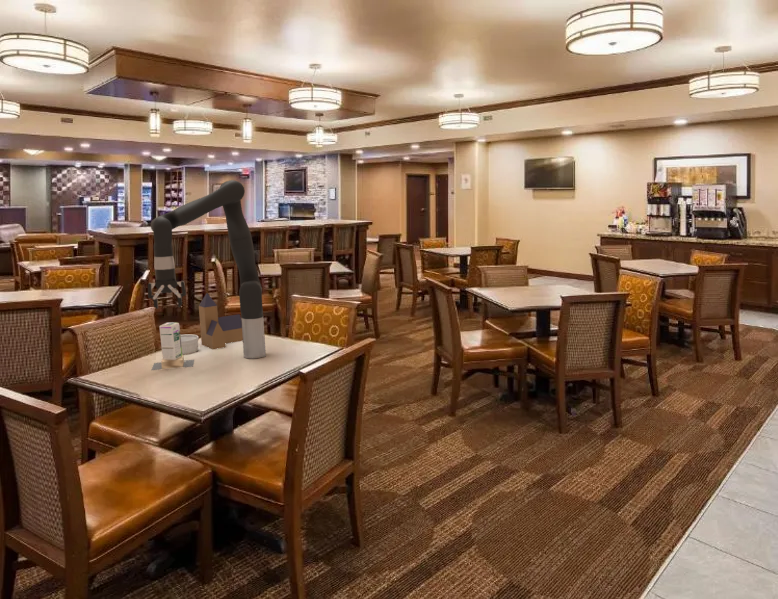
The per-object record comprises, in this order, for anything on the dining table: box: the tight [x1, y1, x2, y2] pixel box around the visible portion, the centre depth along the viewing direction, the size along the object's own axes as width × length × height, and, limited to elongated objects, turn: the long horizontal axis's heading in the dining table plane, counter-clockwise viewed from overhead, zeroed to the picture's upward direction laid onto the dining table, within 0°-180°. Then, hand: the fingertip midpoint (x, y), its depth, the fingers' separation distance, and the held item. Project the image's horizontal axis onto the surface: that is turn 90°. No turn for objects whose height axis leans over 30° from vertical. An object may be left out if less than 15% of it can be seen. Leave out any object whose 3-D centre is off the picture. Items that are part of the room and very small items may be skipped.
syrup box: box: [159, 321, 183, 360], centre depth 242 cm, size 6×6×14 cm
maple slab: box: [161, 354, 185, 370], centre depth 243 cm, size 8×8×3 cm
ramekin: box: [180, 333, 200, 355], centre depth 266 cm, size 13×13×7 cm
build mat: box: [151, 359, 195, 371], centre depth 244 cm, size 16×11×1 cm
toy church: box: [198, 292, 243, 350], centre depth 279 cm, size 12×19×25 cm
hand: (168, 307), depth 239 cm, fingers open, 8 cm apart
